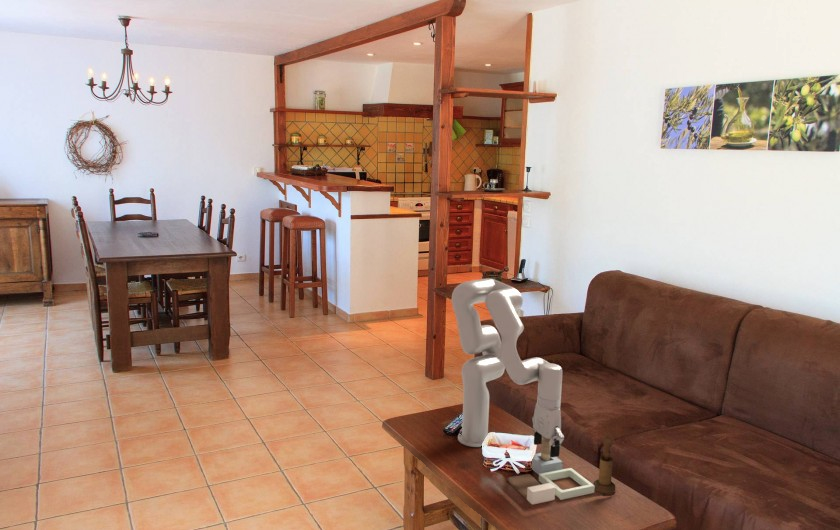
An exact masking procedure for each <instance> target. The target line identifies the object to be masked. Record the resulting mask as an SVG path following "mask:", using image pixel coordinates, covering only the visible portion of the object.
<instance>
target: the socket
mask: <svg viewBox="0 0 840 530" xmlns="http://www.w3.org/2000/svg"><path fill="white" fill-rule="evenodd" d="M534 454H535V455H534V457H533V459H532V469H531V470H533V472H535V473H536V474H537V475H538V476H539V474H542V473H547V472H552V471H557V470H562V469H563V465H564V464H563V463H564V462H563V461H562V460H561V459H560V458H559V457H558V456H557V457H550V461H546V462H543V461H542V460H541V452H539V453H534Z"/></svg>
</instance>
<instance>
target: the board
mask: <svg viewBox="0 0 840 530" xmlns="http://www.w3.org/2000/svg"><path fill="white" fill-rule="evenodd" d="M507 482H508V483H509V484H510V485H511V486H512V487H513V488H514V489H515V490H516V491H517V492H519V494H520V495H522V496H523V497H524V498H525V499H526V500H527V488H528V487H532V486H537V485H542V483H541V482H539V480H537V479H536V478H535V477H534V476H533V475H532V474H530V473H525V474H521V475H516V476H509V477H507Z"/></svg>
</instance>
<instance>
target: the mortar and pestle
mask: <svg viewBox="0 0 840 530" xmlns="http://www.w3.org/2000/svg"><path fill="white" fill-rule="evenodd" d="M602 444H603V446H604V449H603V455H601V456H600V457H599V467H598V468H599V469H598V479H596V480H595V481H593V485H594V486H595V489H594V491H597V492H598V493H601V496H602V497H611V496H614V495H615V494H616V493H615V492H616V484H615V483H614V482H613V481H612V475H613V474H612V473H613V465H614V459H613V457H612V456H611V453H612V451H611V450H610V449H611V448H612V446H613V444H614V442H613V439H612V438H611V437H610V436H605V437H603V439H602Z"/></svg>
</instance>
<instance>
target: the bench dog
mask: <svg viewBox="0 0 840 530" xmlns="http://www.w3.org/2000/svg"><path fill="white" fill-rule="evenodd" d="M555 498H556V495H555V487H554V486H553V485H552V484H551V483H547V484H542V483H541V485H537V486H532V487H528V488H527V499H526V500H527V501H528V503H529V504H531V505H536V504H541V503H546V502H551V501H554V500H555Z"/></svg>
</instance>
